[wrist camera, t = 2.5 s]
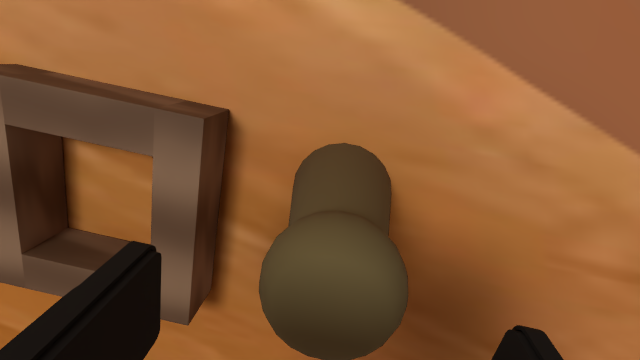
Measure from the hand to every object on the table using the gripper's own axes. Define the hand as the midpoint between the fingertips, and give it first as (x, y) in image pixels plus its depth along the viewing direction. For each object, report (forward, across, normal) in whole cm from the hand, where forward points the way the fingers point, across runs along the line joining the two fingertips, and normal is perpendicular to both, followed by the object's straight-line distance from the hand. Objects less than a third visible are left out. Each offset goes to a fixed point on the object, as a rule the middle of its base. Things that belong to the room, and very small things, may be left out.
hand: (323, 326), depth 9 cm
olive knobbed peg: (+12, 0, +1) cm, 12 cm away
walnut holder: (+12, +14, +4) cm, 19 cm away
